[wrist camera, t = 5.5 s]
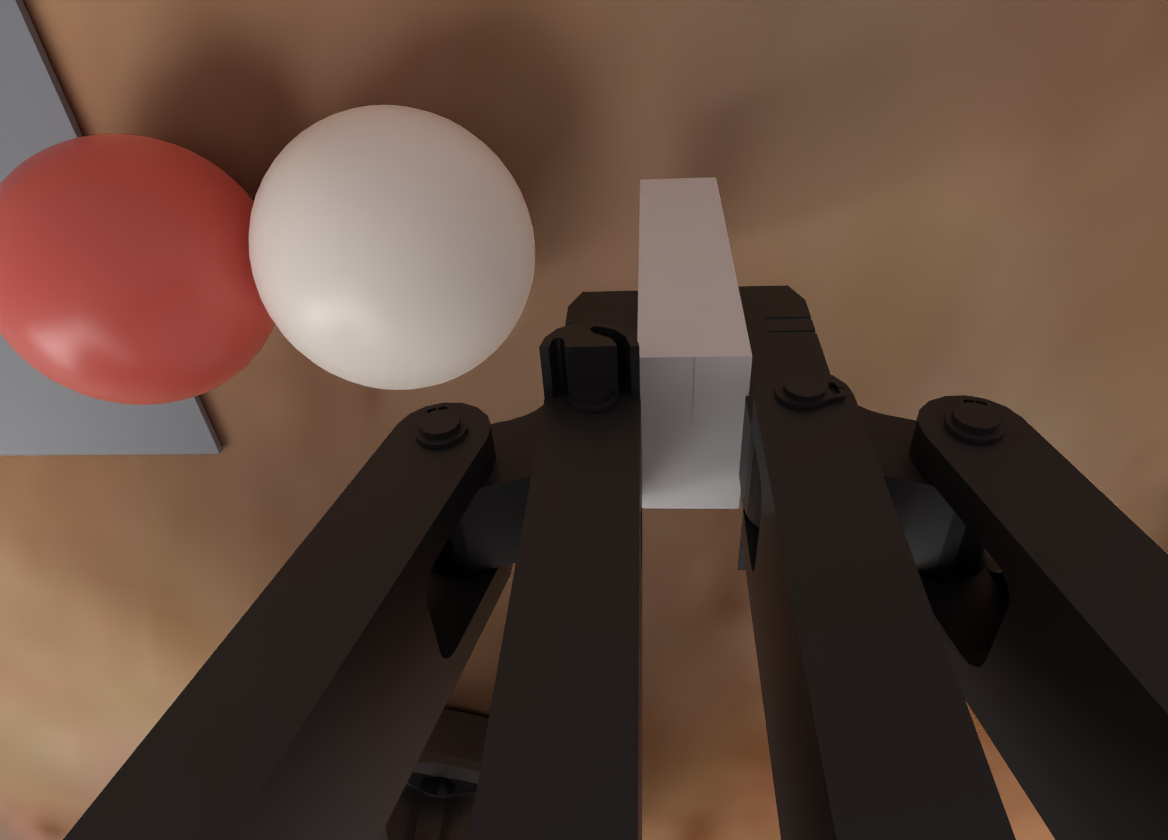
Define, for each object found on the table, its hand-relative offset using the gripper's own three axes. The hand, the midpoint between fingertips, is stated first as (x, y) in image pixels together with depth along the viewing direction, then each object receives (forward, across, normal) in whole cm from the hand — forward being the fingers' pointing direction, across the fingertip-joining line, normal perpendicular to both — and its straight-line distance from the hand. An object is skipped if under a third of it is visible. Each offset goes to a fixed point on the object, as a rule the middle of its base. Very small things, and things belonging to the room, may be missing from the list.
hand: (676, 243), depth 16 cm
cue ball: (-1, +6, 0) cm, 6 cm away
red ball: (-1, +11, 0) cm, 11 cm away
